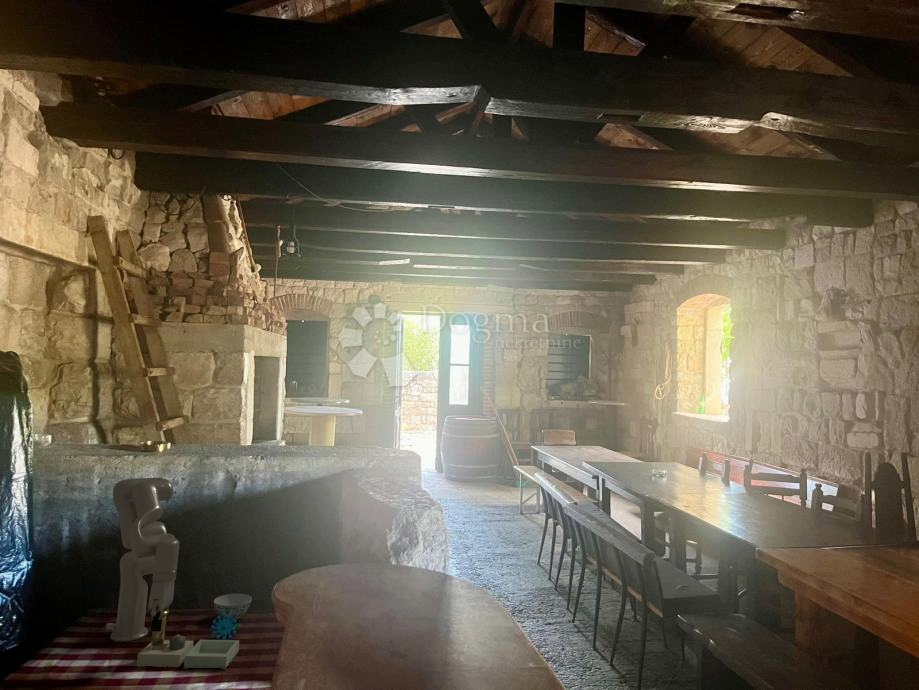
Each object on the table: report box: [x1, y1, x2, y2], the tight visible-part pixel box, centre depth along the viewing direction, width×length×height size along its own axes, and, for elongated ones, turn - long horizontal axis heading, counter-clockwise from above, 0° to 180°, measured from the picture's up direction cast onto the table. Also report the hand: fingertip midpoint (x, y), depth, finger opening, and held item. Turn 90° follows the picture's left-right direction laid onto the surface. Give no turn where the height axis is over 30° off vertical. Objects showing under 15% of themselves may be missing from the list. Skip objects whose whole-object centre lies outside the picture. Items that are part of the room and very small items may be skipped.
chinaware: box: [213, 593, 253, 621], centre depth 243 cm, size 15×15×8 cm
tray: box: [183, 639, 240, 670], centre depth 204 cm, size 14×14×4 cm
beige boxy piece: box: [136, 634, 194, 668], centre depth 203 cm, size 14×12×8 cm
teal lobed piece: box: [210, 614, 242, 640], centre depth 225 cm, size 11×6×10 cm
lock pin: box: [150, 608, 170, 646], centre depth 204 cm, size 5×5×11 cm
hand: (159, 627), depth 204 cm, fingers closed on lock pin, 4 cm apart
